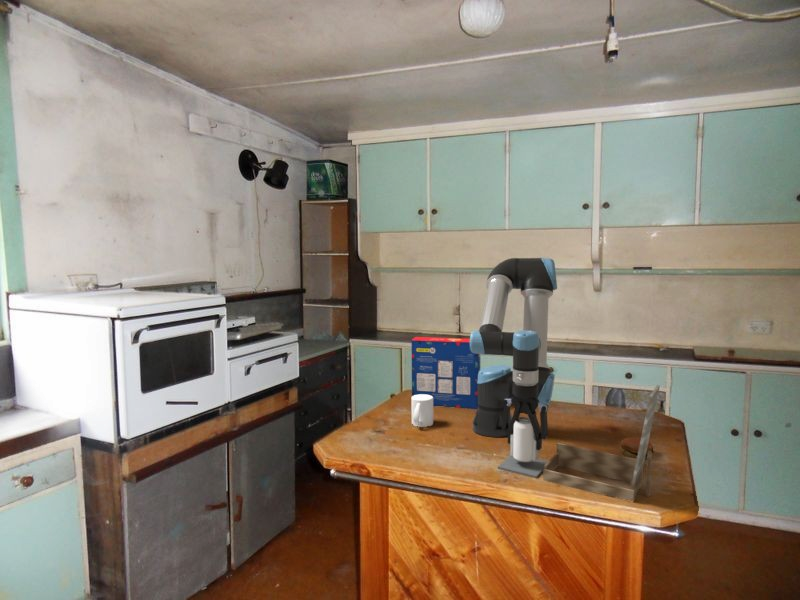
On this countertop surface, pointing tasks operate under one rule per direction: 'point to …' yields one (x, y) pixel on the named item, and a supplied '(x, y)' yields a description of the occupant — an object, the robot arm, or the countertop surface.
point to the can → (523, 440)
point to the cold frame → (605, 464)
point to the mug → (422, 410)
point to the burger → (633, 447)
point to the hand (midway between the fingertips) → (524, 456)
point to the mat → (523, 467)
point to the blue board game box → (445, 371)
